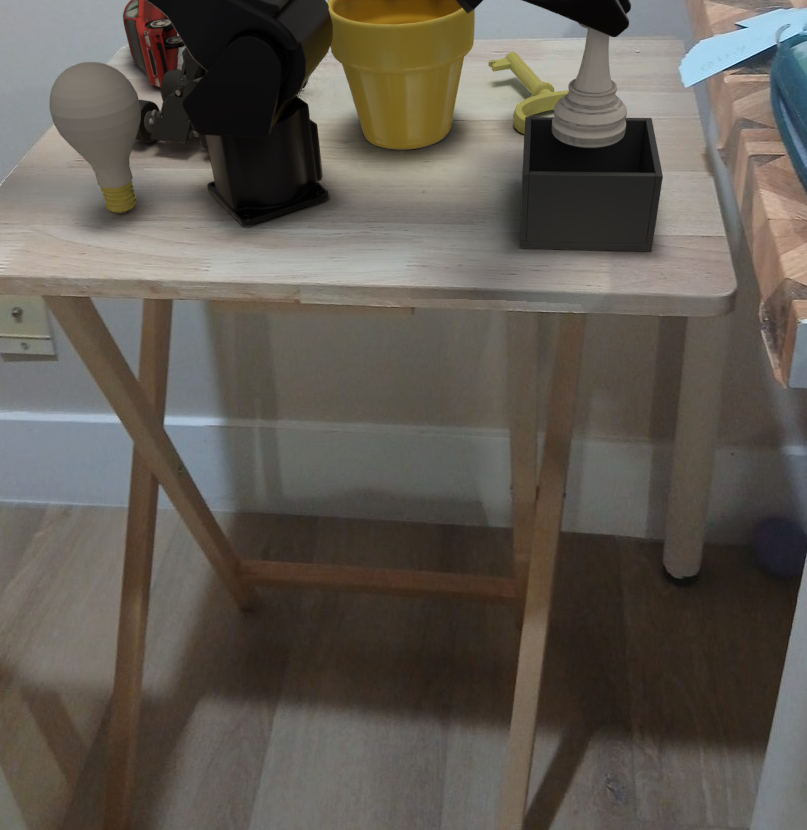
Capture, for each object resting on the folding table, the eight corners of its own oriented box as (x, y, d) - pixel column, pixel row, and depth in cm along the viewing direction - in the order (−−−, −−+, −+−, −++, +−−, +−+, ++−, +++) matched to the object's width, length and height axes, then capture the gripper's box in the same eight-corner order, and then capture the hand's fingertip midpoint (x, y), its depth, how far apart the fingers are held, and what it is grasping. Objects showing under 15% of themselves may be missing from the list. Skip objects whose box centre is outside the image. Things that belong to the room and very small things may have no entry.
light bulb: (173, 192, 65) (140, 48, 59) (150, 232, 61) (111, 81, 54) (99, 192, 66) (58, 48, 59) (70, 231, 62) (23, 82, 55)
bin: (519, 248, 57) (522, 174, 54) (522, 187, 63) (525, 116, 60) (651, 251, 57) (663, 175, 53) (642, 189, 62) (651, 117, 59)
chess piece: (622, 151, 54) (646, -32, 48) (546, 146, 55) (560, -35, 49) (627, 120, 57) (650, -56, 51) (555, 115, 58) (569, -58, 52)
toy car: (178, -31, 87) (124, -26, 86) (171, 34, 76) (110, 40, 76) (191, 28, 91) (139, 34, 90) (186, 98, 80) (127, 104, 80)
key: (511, 73, 78) (512, 48, 77) (618, 120, 71) (621, 92, 69) (444, 97, 75) (443, 71, 74) (548, 148, 68) (550, 120, 66)
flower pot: (355, 172, 66) (343, 32, 60) (325, 116, 74) (311, -14, 67) (493, 149, 68) (495, 10, 62) (450, 96, 76) (448, -32, 69)
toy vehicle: (307, 84, 78) (295, -27, 73) (218, 161, 68) (195, 39, 62) (222, 74, 81) (204, -34, 75) (124, 148, 70) (94, 29, 65)
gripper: (524, -358, 35) (766, -34, 40) (567, -374, 48) (743, -130, 54) (337, -123, 41) (566, 129, 47) (421, -195, 55) (591, 6, 60)
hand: (623, 22), depth 52 cm, fingers closed on chess piece, 2 cm apart
